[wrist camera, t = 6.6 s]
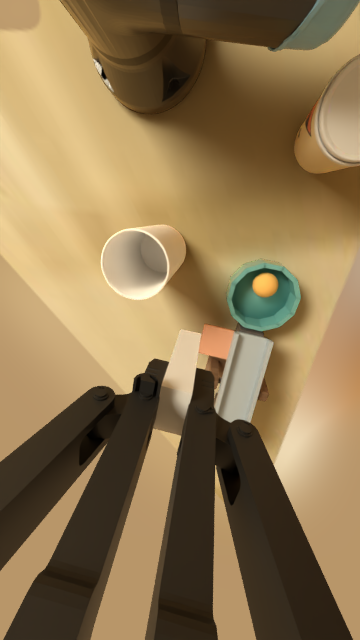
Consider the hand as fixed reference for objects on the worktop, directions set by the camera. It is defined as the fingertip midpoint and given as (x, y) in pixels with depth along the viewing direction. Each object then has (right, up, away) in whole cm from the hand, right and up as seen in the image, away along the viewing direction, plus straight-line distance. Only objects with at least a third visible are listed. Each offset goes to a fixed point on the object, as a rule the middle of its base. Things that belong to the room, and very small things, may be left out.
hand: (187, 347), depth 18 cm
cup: (-3, +14, +26) cm, 30 cm away
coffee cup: (+20, +27, +17) cm, 37 cm away
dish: (+13, +7, +26) cm, 30 cm away
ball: (+13, +8, +23) cm, 28 cm away
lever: (+7, -9, +27) cm, 30 cm away
